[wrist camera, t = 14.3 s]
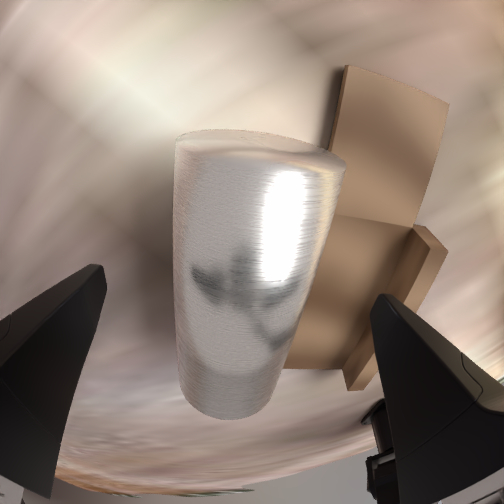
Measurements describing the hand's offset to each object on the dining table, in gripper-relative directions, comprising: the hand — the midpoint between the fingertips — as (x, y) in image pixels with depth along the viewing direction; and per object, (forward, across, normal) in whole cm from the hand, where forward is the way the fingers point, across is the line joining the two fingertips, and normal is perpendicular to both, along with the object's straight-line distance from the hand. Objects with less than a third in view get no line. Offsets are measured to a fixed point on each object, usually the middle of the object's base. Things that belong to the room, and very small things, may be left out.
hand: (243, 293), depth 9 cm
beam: (+8, -7, +3) cm, 11 cm away
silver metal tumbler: (+6, 0, +3) cm, 6 cm away
